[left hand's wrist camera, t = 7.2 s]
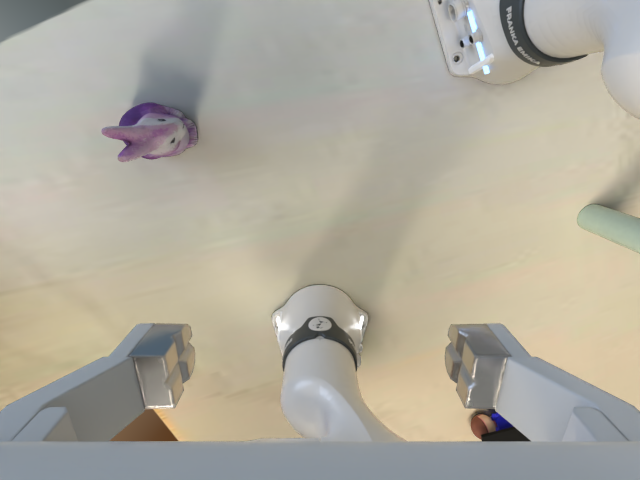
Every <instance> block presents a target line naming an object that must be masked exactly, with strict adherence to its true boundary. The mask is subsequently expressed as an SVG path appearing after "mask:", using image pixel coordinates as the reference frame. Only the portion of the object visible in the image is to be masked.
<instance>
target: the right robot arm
mask: <svg viewBox="0 0 640 480" xmlns="http://www.w3.org/2000/svg"><path fill="white" fill-rule="evenodd" d="M438 1H439V2H440V4H438ZM429 3H430V6H431V10H432V13H433V17H434V20H435V24H436V27H437V31H438V34H439V38H440V41H441V45H442V48H443V52H444V55H445V59H446V62H447V66H448V69H449V72H450V74H451V75H453V76H456V77H474V78H477V79H479V80H481V81H483V82H486V83H490V84H508V83H512V82H515V81H517V80H520V79H522V78H524V77H525V76H527V75H528V74H530V73H531V72H532V71H534V70H535V69H537V68H539V67H549V66H555V65H562V64H566V63H570V62H573V61H575V60H578V59H581V58H583V57H586V56H587V55H588V54H591V53H597V52H603V51H604V56H603V62H602V66H601V75H602V78H603V82H604V84H605V86H606V88H607V90H608V92H609V94H610V95H611V97H612V98H613V100H614V101H615V102H616V103H617V104H618V105H619V106H620V107H621V108H622V109H623V110H625V111H626V112H628V113H629V114H631V115H632V116H634V117H636V118H638V119H640V0H429ZM455 56H457V57H458V61H457V62H455V61H454V57H455Z"/></svg>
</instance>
